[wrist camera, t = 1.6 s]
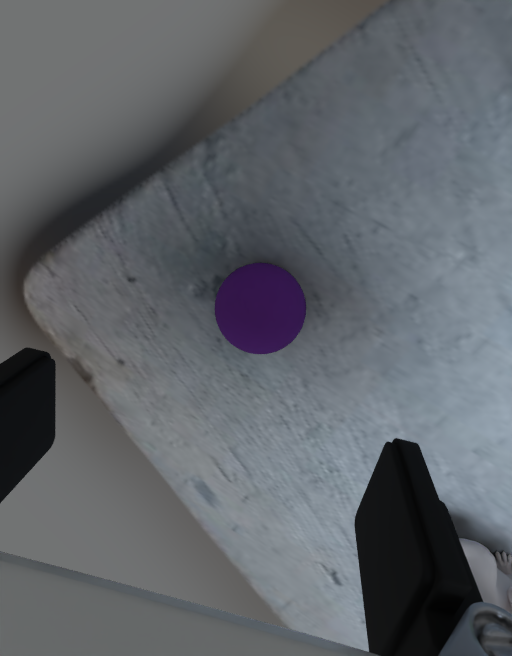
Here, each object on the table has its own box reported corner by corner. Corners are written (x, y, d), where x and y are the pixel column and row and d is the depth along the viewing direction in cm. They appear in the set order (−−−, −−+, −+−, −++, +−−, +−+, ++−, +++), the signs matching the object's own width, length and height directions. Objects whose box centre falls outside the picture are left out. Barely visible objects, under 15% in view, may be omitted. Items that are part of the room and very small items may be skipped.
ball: (232, 245, 21) (212, 266, 17) (316, 264, 21) (316, 290, 17) (218, 321, 23) (198, 357, 19) (295, 340, 22) (291, 380, 18)
